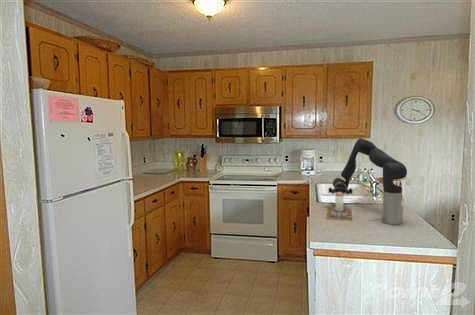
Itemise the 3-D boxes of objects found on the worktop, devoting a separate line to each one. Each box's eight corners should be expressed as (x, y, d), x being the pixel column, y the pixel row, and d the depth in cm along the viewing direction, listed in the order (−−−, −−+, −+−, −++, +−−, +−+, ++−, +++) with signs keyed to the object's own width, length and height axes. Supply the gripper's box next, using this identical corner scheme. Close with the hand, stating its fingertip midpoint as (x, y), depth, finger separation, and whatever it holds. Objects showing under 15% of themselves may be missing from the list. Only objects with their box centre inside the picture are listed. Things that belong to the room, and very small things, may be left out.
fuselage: (344, 216, 186) (345, 192, 185) (339, 217, 184) (340, 192, 183) (338, 214, 190) (339, 190, 189) (333, 215, 188) (333, 191, 187)
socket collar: (332, 213, 192) (332, 208, 192) (346, 214, 190) (347, 209, 189) (331, 217, 184) (331, 212, 184) (347, 218, 182) (347, 213, 181)
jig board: (328, 210, 206) (328, 208, 206) (351, 211, 201) (351, 209, 201) (326, 221, 181) (326, 219, 181) (352, 223, 177) (352, 221, 177)
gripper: (329, 182, 214) (328, 186, 199) (352, 183, 210) (352, 187, 194) (329, 193, 215) (328, 198, 199) (351, 194, 210) (352, 199, 195)
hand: (340, 192), depth 197 cm, fingers open, 8 cm apart
